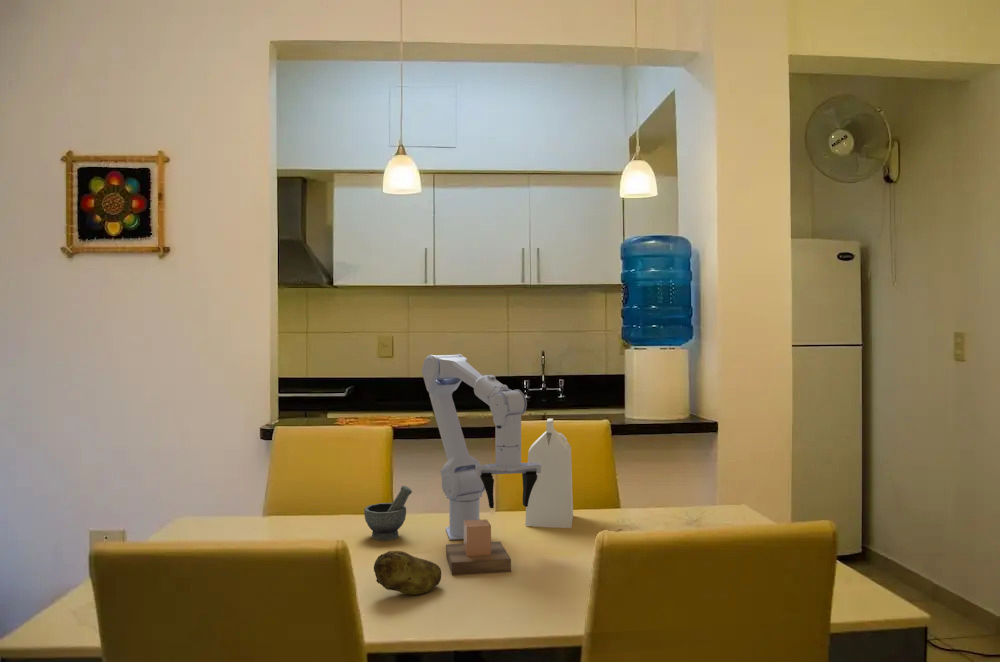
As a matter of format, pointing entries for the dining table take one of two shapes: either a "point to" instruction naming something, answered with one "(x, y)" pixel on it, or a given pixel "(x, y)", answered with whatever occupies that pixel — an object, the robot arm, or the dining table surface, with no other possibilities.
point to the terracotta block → (477, 537)
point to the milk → (551, 481)
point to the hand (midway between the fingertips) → (508, 506)
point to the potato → (406, 573)
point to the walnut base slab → (477, 560)
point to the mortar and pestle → (387, 516)
